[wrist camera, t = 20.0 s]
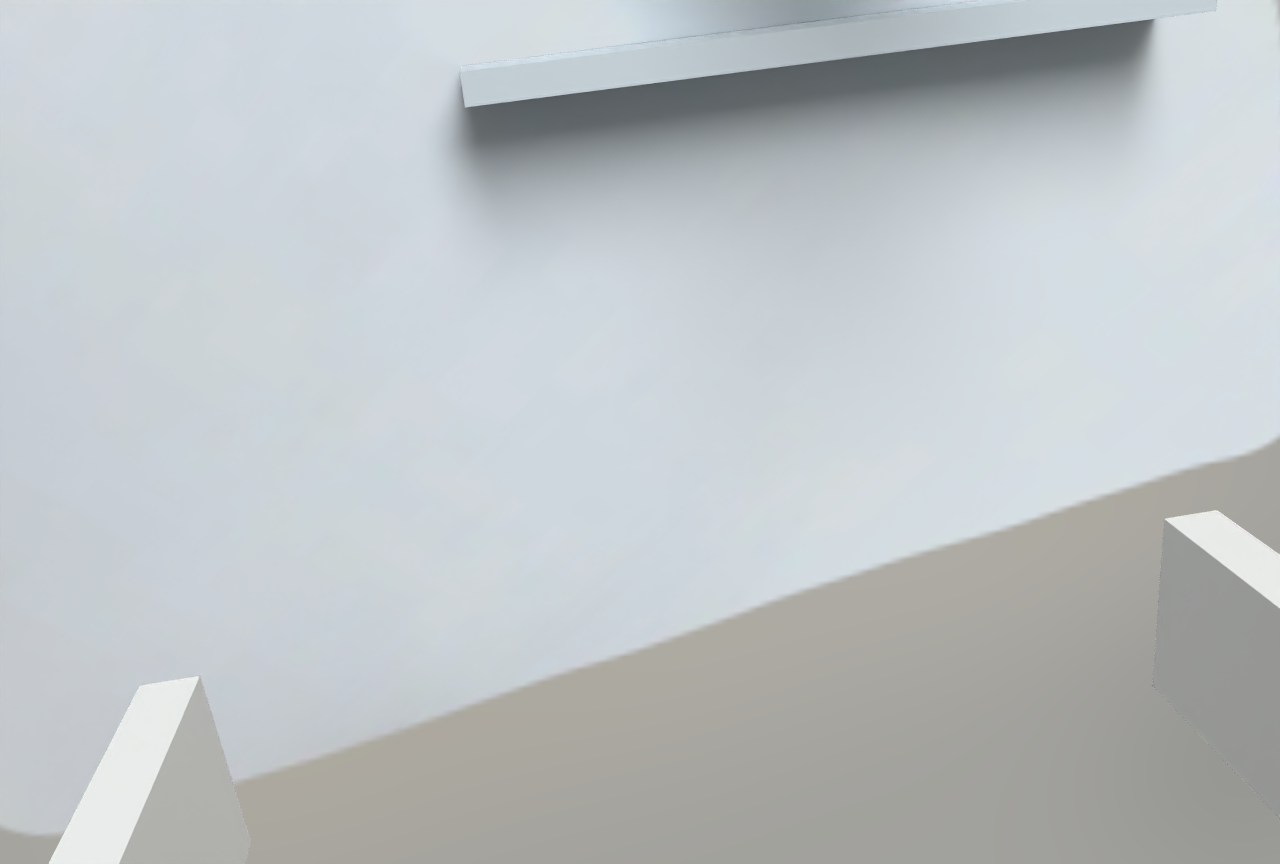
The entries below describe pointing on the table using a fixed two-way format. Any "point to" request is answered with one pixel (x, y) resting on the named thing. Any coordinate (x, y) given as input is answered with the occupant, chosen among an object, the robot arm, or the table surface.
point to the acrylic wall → (798, 45)
